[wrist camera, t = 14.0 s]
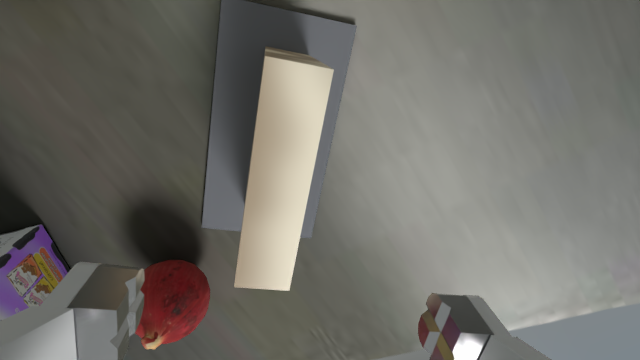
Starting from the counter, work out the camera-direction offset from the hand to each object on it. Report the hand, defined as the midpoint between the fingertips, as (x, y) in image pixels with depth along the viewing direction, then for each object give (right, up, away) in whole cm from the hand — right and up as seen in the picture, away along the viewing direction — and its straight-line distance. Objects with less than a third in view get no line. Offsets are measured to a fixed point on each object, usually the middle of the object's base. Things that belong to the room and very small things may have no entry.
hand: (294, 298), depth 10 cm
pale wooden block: (-3, +7, +16) cm, 18 cm away
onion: (-11, -4, +20) cm, 24 cm away
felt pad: (-3, +7, +17) cm, 18 cm away
